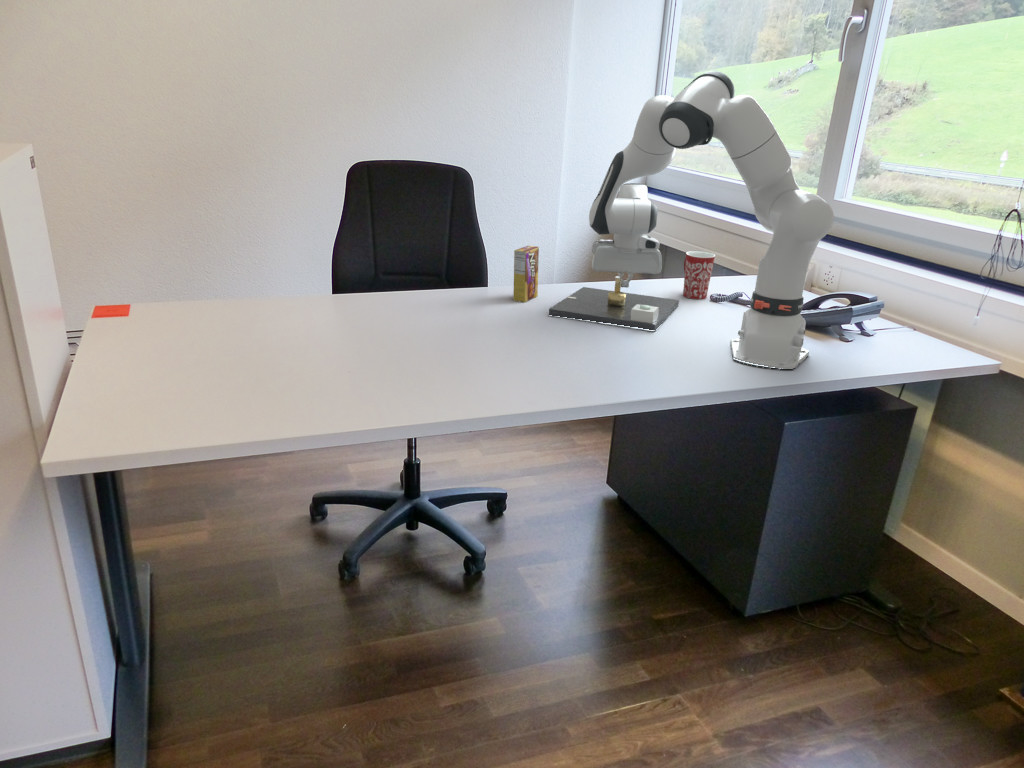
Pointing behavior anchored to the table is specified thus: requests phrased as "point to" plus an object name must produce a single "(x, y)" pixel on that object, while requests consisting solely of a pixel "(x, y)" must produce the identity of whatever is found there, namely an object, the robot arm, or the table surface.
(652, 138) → the robot arm
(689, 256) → the mug
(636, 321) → the base plate
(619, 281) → the brass lever knob
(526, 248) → the candy box
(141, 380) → the table surface
